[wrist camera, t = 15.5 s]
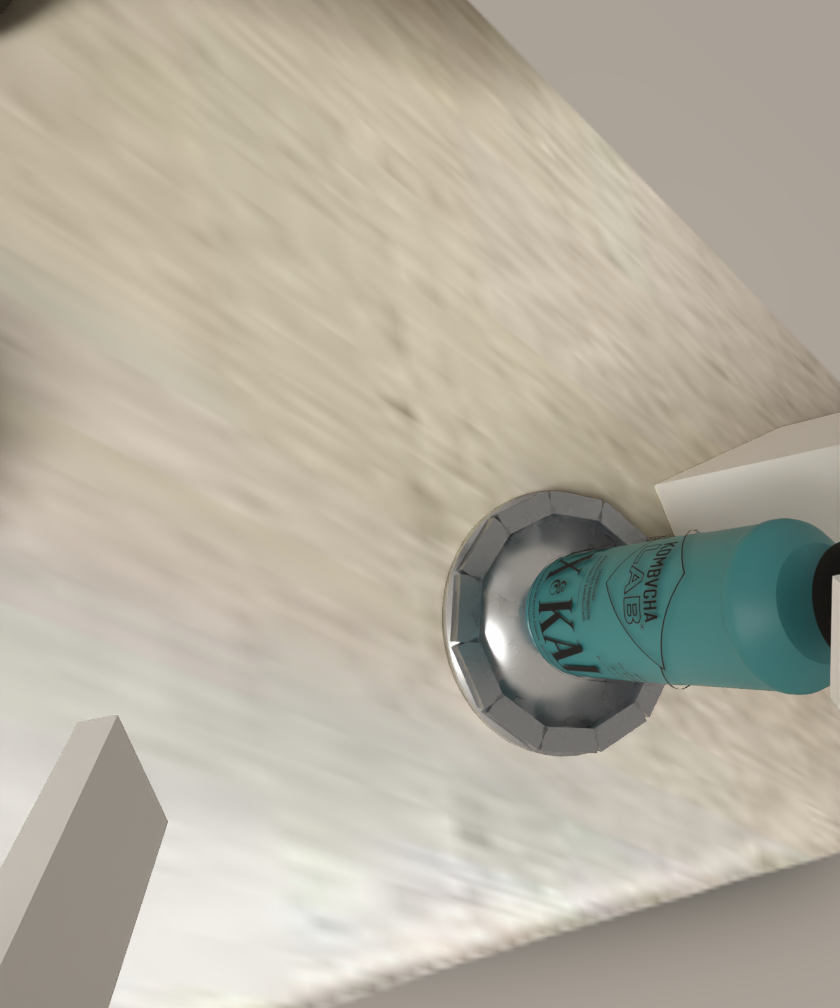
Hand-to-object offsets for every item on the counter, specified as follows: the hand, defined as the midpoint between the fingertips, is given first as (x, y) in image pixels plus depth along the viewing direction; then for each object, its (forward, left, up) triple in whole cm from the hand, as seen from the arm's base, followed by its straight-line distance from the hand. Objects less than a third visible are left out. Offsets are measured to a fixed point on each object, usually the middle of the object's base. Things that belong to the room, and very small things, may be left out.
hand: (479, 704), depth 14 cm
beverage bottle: (+5, +16, -23) cm, 28 cm away
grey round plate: (+5, +16, -23) cm, 29 cm away
